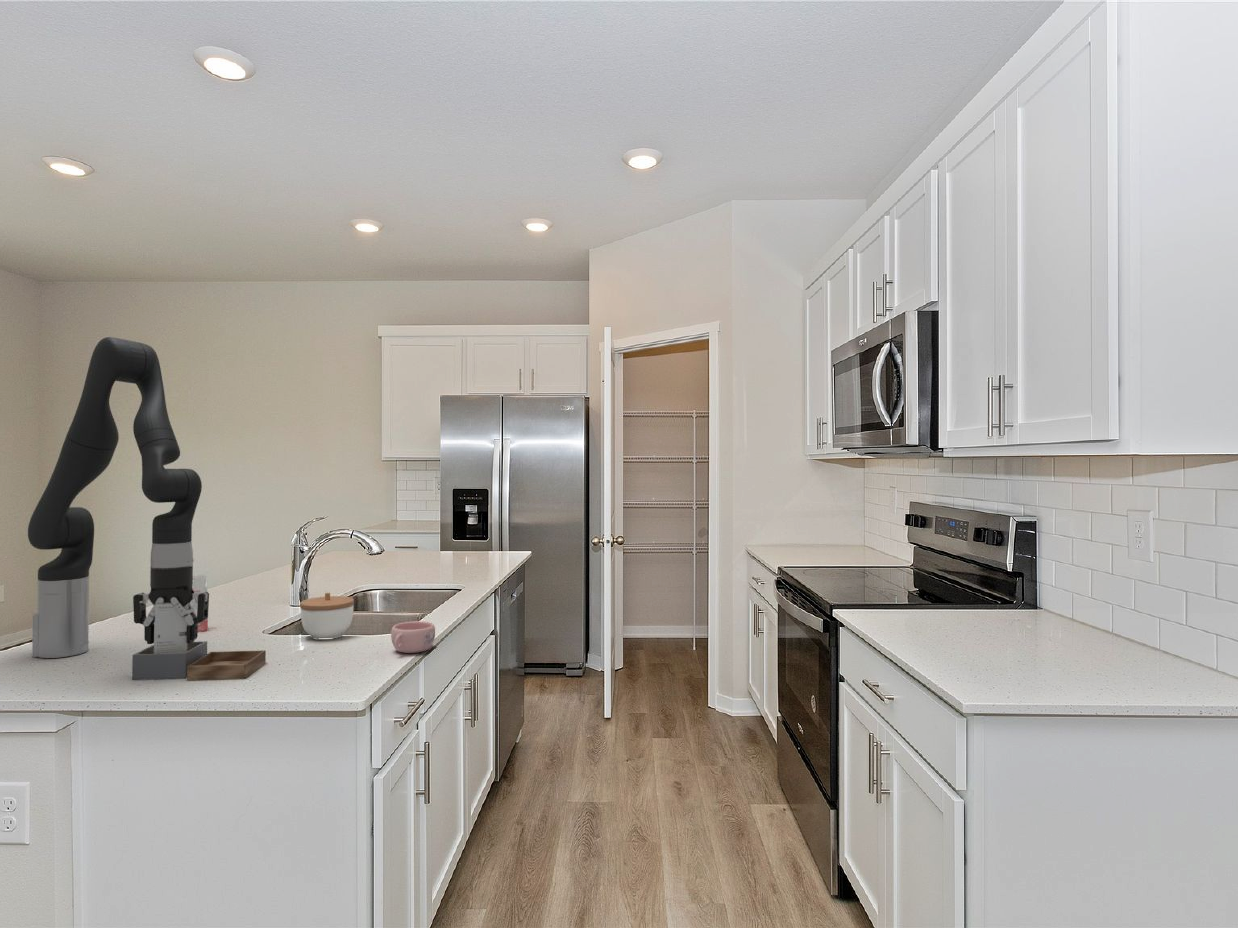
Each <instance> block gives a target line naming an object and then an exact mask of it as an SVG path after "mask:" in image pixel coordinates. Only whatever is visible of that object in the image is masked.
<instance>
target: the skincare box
mask: <svg viewBox="0 0 1238 928" xmlns="http://www.w3.org/2000/svg"><path fill="white" fill-rule="evenodd" d="M184 608H185V609H186V610H189V603H188V604H187V605H186V606H184ZM187 626H188V623H187V622H186V620H185V619H184V618H183V617H182V616H181V615H180V613H179V612H178V610H177V609H176V607H175V606H174V605H173V604H172V603H170V602H167V603H162V604H156V605H155V623H154V643H153V645H154V654H167V653H185V652H187Z"/></svg>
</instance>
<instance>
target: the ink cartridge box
mask: <svg viewBox="0 0 1238 928" xmlns="http://www.w3.org/2000/svg"><path fill="white" fill-rule="evenodd" d="M206 577H207V576H206V575H205V574H199V575H198V574H197V575H194V574H193V585H192V589H193V591H194V593H203V592H208V583H207V578H206ZM190 604H191V606H192V607H193V609H194V612H195V614H196V615H197V607H198V603H196V602H195V599H194V598H193V599H192V601H191V602H190ZM208 618H209V617H208ZM208 618H207V619H206V620H204V621H202V622H199V623H198V631H197V632H198V633H199V632H200V633H202V632H207V631H208V627H209V626H208V624H209V623H208V622H209V621H208Z"/></svg>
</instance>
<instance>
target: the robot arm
mask: <svg viewBox="0 0 1238 928" xmlns="http://www.w3.org/2000/svg"><path fill="white" fill-rule="evenodd" d="M161 369H162V368H161V365H160V360H159V357H158V354H157V352H156V351H155V349H154V348H153V347H152V346H150V345H149V344H145V343H143V342H139V341H134V340H128V339H124V338H123V339H122V338H118V337H112V336H107V337H103V338H101V339H100V340H99V341H98V342H97V344H96V345H95V348H94V350H93V352H92V354H91V357H90V361H89V364H88V369H87V373H86V377H85V381H84V385H83V389H82V392H81V396H80V400H79V402H78V404H77V407H76V411H75V413H74V416H73V418H72V421H71V423H70V426H69V429H68V431H67V433H66V435H65V438H64V441H63V443H62V446H61V449H60V452H59V455H58V459H57V462H56V464H55V467H54V469H53V472H52V474H51V476H50V478H49V481H48V482H47V485H46V487H45V489H44V491H43V493H42V495H41V497H40V499H39V501H38V502H37V504H36V507H35V508H34V510H33V512H32V515H31V517H30V520H29V522H28V525H27V526H28V528H27V537H28V541H29V543H30V545H31V546H32V547H33V548H34V549H36V550H37V549H38V550H43V551H46V550H47V551H49V550H60V549H61V550H60V553H59V554H58V555H57V557H56V558H54V559H53V560H51V561H49V562H47V563H45V564H43V565H41V566H40V567H39V568H38V571H37V612H36V613H34V614H33V615H32V635H31V636H32V638H31V640H32V644H31V645H32V647H31V648H32V650H31V651H32V654H31V655H32V658H41V659H54V658H55V659H56V658H57V659H58V658H65V657H72V656H77V655H81V654H83V653H86V652H88V651H89V641H90V640H89V634H90V633H89V630H90V629H89V626H90V624H89V623H90V622H89V619H90V618H89V616H90V615H89V614H90V610H89V608H90V607H89V605H90V589H89V588H90V568H91V566H92V563H93V557H94V556H93V553H94V542H95V541H94V540H95V521H94V518H93V516H92V514H91V512H90V511H89V510H88V509H87V508H84V507H80V506H73V507H72V506H71V505H72V504H73V501H74V500H75V499H76V497H77V496H78V495H79V494H80V493H81V492H82V491H84V489H85V488H87V486H88V485H90V484H92V482H94V481H95V480H96V479H97V478H98V477H99V476H100V475H102V474H103V472H104V471H105V470H106V469H107V468H108V467H109V465H110V464H111V461H112V459H113V456H114V455H115V451H116V448H117V446H118V443H119V439H120V436H119V430H118V427H117V424H116V421H115V418H114V416H113V413H112V411H111V410H112V409H111V406H110V397H111V393H112V390H113V386H114V384H115V383H116V382H121V383H129V384H135V385H136V386H137V387H136V388H138V391H139V393H140V395H141V402H140V405H139V407H138V410H137V412H136V414H135V416H134V419H133V424H132V425H133V427H132V429H133V435H134V438H135V442H136V445H137V447H138V451H139V453H140V456H141V472H142V473H141V490H142V492H143V494H144V496H145V497H146V499H147V500H149V501H150V502H153V503H158V504H160V503H163V504H165V503H174V505H173V507H172V509H171V510H170V511H168V512H164V513H162V514H158V515H156V516H154V517H153V519H152V524H151V525H152V526H151V527H152V528H151V530H152V531H151V543H152V544H151V549H150V572H149V573H150V582H149V585H150V590H149V593H145V592H139V593H137V594H135V595H133V597H132V604H133V605H132V606H133V607H132V609H133V623H134V624H141V625H142V626H143V627H144V631H143V632H144V637H143V638H144V641H145V642H146V644H147V645H154V624H155V605H156V604H162V603H167V602H170V603H172V604H173V605H174V606H175V607H176V609H177V610H178V612H179V613H180V615H181V616H182V617H183V618H184V619H185V620H186V622H187V623H188V626H187V643H192V642H196V641H195V640H197V638H198V633H199V632H197V631H198V623H199V622H202V621H204V620H206V619H207V618H209V605H210V603H209V602H210V593H209V591H207V592H203V593H194V591H193V589H192V585H193V582H194V580H193V575H194V572H193V570H194V569H193V568H194V549H193V541H192V537H193V536H192V535H193V534H192V533H193V532H192V529H193V527H192V526H193V525H192V523H193V520H194V517H195V513H196V509H197V505H198V502H199V500H200V497H201V495H202V494H201V493H202V488H203V485H202V480H201V477H200V475H199V473H197V472H196V471H195V470H194V469H192V468H165V467H164V466H166V465H170V464H172V463H174V462H175V461H177V460H178V459H179V457H180V456H181V449H180V447H179V444H178V440H177V438H176V435H175V433H174V429H173V427H172V425H171V421H170V417H169V412H168V408H167V403H166V402H167V401H166V394H165V387H164V381H163V375H162V370H161ZM193 598H194V599H195V602H196V603H198V607H197V615H196V614H195V612H194V609H193V607H192V606H191V604H190V602H191V601H192V599H193ZM149 601H150V603H151V604H152V605H153V606H152V608H151V609H150V611H149V612H148V614H147V603H149ZM188 603H189V610H186V609H185V608H184V606H186V605H187V604H188Z"/></svg>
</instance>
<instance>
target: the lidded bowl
mask: <svg viewBox="0 0 1238 928" xmlns="http://www.w3.org/2000/svg"><path fill="white" fill-rule="evenodd" d="M354 604H355V599H354V598H353V597H350V596H342V595H341V596H340V595H331V593H330V592H325V593H324V596H319V597H312V598H306V599H304V600H301V602H300V605H299V606H300V620H301V625H302V627H303V629H304V631H305V632H306V633H307V634H308V635H309V636H311V639H312V638H317V639H314V640H317V641H328V640H331V639H319V638H336V639H339V638H342V637H343V634H345V632H347V630H349V628H350V626H351V625H352V624H351V623H352V620H353V616H354ZM338 637H339V638H338Z"/></svg>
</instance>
